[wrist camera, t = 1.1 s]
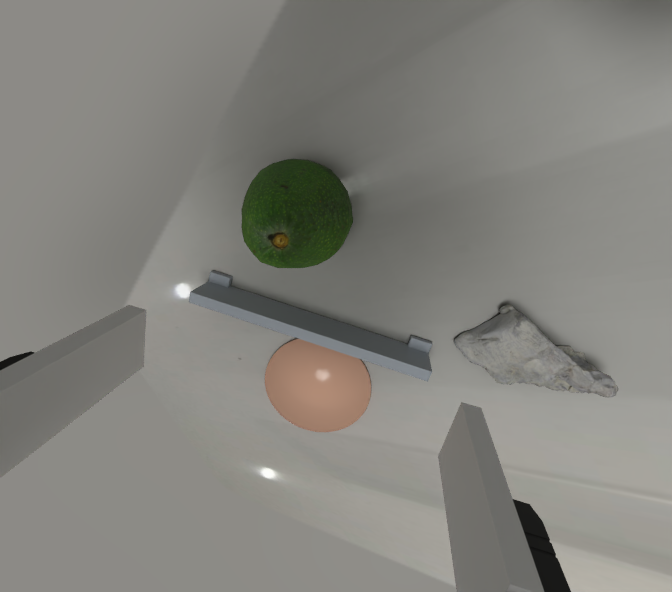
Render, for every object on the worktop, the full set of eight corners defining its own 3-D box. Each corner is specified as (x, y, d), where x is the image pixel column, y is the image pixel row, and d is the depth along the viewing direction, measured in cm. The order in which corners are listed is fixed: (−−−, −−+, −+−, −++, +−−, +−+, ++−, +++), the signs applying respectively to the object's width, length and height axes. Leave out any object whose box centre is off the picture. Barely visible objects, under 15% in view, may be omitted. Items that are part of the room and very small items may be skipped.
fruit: (278, 257, 34) (221, 297, 23) (261, 168, 32) (189, 164, 21) (362, 247, 33) (346, 286, 22) (350, 153, 31) (326, 141, 19)
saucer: (279, 321, 36) (278, 323, 36) (385, 356, 36) (385, 358, 35) (256, 409, 40) (255, 412, 40) (352, 442, 40) (352, 445, 39)
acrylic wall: (213, 270, 36) (191, 281, 32) (431, 341, 35) (436, 362, 31) (208, 298, 37) (187, 312, 33) (420, 368, 36) (423, 390, 32)
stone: (550, 412, 36) (571, 441, 32) (448, 344, 35) (456, 366, 31) (601, 364, 34) (630, 389, 30) (494, 291, 33) (510, 307, 29)
